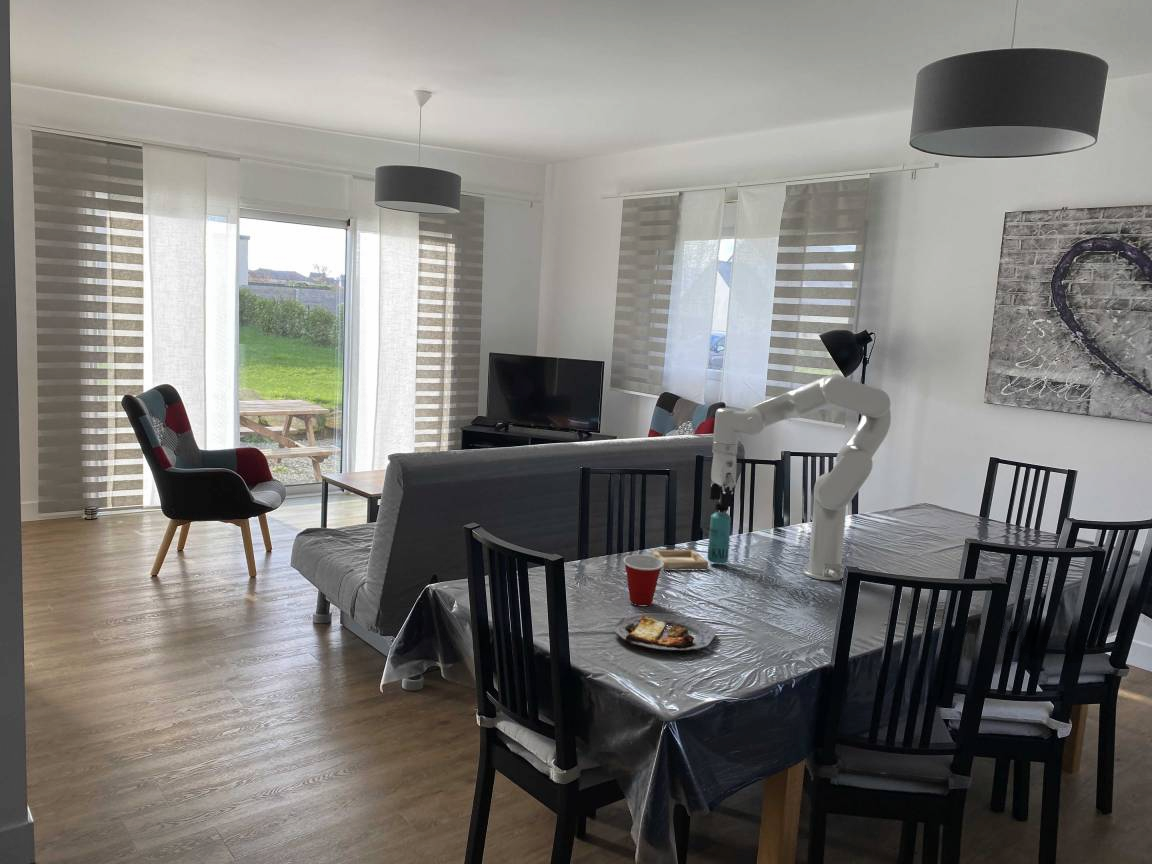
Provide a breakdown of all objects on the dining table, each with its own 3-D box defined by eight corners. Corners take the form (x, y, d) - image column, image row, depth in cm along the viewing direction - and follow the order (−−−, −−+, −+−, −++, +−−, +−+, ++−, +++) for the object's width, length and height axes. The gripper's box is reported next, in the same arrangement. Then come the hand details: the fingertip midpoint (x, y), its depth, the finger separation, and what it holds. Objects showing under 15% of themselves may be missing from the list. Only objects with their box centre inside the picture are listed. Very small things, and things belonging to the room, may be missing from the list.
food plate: (699, 664, 199) (700, 649, 198) (601, 647, 207) (602, 632, 207) (723, 631, 222) (724, 618, 221) (634, 617, 230) (635, 604, 230)
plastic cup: (628, 611, 232) (630, 566, 231) (615, 597, 243) (618, 555, 241) (667, 609, 235) (670, 565, 234) (653, 596, 246) (655, 553, 244)
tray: (707, 570, 273) (708, 562, 272) (663, 570, 270) (664, 562, 270) (692, 557, 286) (693, 549, 286) (651, 557, 284) (651, 550, 283)
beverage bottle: (713, 560, 283) (717, 499, 280) (732, 565, 279) (736, 502, 276) (702, 564, 278) (706, 502, 275) (721, 569, 274) (725, 505, 271)
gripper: (747, 453, 266) (742, 509, 268) (726, 444, 283) (721, 496, 285) (723, 453, 264) (718, 509, 267) (703, 443, 281) (699, 496, 284)
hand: (720, 502), depth 276 cm, fingers open, 9 cm apart
